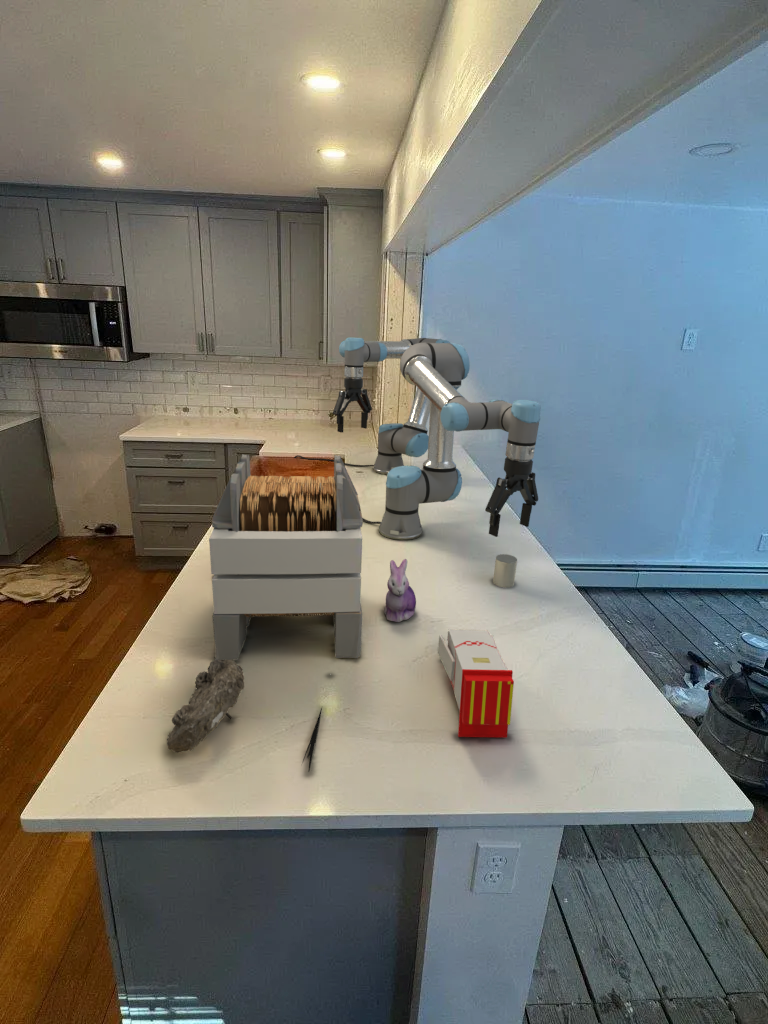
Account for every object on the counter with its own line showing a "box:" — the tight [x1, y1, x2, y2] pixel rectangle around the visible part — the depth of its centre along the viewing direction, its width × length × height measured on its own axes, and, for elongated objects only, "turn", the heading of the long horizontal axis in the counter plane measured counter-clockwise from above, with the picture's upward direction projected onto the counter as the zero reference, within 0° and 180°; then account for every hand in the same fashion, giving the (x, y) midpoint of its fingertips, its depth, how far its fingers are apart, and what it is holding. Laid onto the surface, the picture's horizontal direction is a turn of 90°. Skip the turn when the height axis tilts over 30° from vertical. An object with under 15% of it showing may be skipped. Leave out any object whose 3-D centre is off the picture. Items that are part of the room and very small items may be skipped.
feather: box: [301, 673, 332, 771], centre depth 108 cm, size 2×28×2 cm
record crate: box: [208, 453, 364, 661], centre depth 135 cm, size 34×33×41 cm
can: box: [492, 553, 518, 589], centre depth 166 cm, size 6×6×8 cm
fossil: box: [166, 659, 245, 754], centre depth 106 cm, size 22×10×15 cm
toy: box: [437, 628, 515, 738], centre depth 117 cm, size 12×13×30 cm
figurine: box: [384, 558, 417, 623], centre depth 145 cm, size 9×10×15 cm
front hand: (508, 530), depth 162 cm, fingers open, 13 cm apart
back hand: (352, 430), depth 235 cm, fingers open, 13 cm apart
